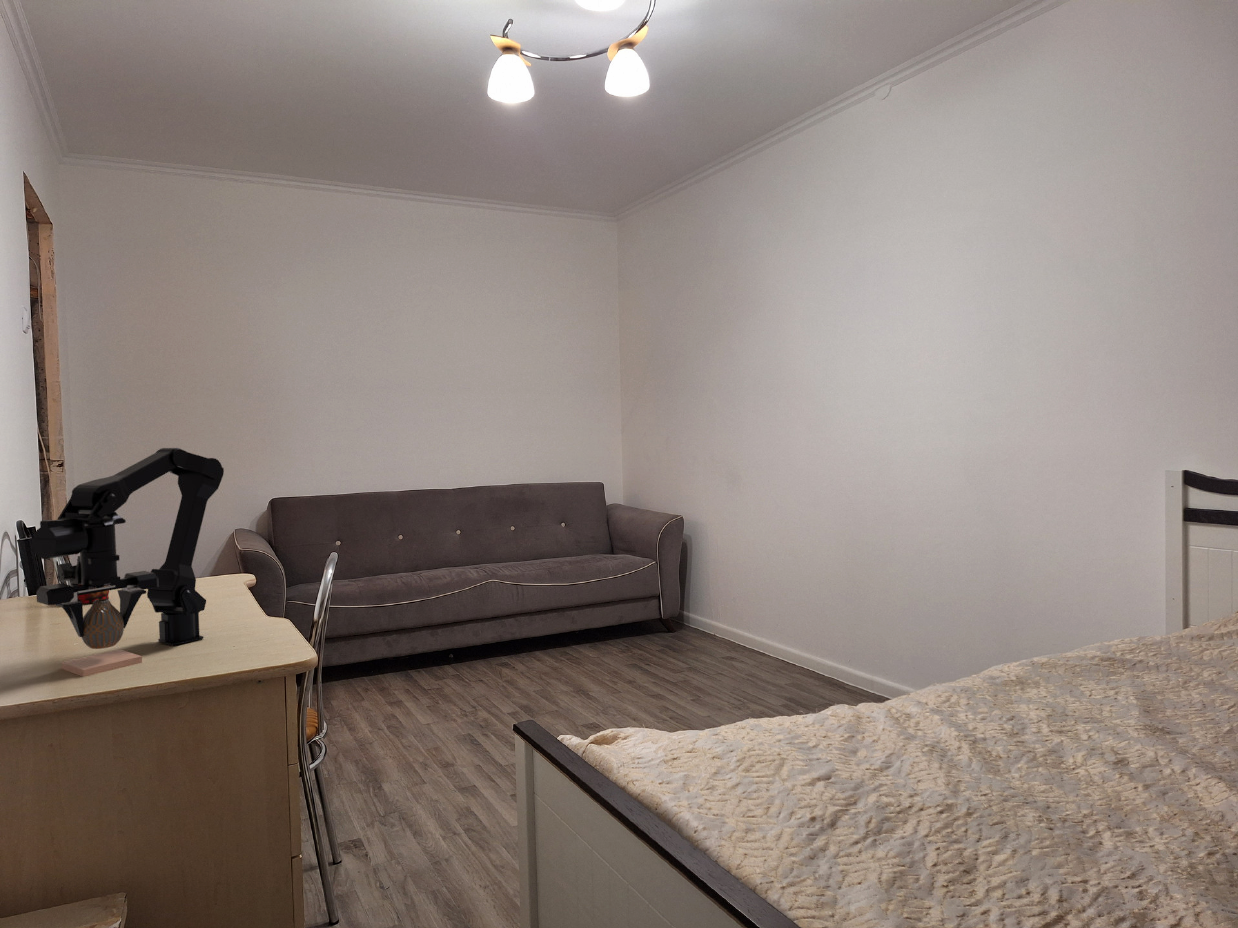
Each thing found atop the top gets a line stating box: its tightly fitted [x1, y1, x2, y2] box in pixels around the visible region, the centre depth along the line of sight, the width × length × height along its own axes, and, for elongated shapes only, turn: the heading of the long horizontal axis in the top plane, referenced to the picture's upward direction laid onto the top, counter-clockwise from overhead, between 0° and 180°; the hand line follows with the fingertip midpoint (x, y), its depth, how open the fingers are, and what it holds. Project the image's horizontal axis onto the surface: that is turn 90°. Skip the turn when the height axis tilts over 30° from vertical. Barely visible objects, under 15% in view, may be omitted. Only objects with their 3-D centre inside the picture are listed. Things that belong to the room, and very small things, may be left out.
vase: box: [81, 599, 125, 650], centre depth 150 cm, size 7×7×9 cm
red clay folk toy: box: [74, 554, 110, 605], centre depth 206 cm, size 8×7×15 cm
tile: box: [61, 649, 143, 678], centre depth 150 cm, size 10×2×9 cm
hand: (102, 632), depth 150 cm, fingers closed on vase, 7 cm apart
